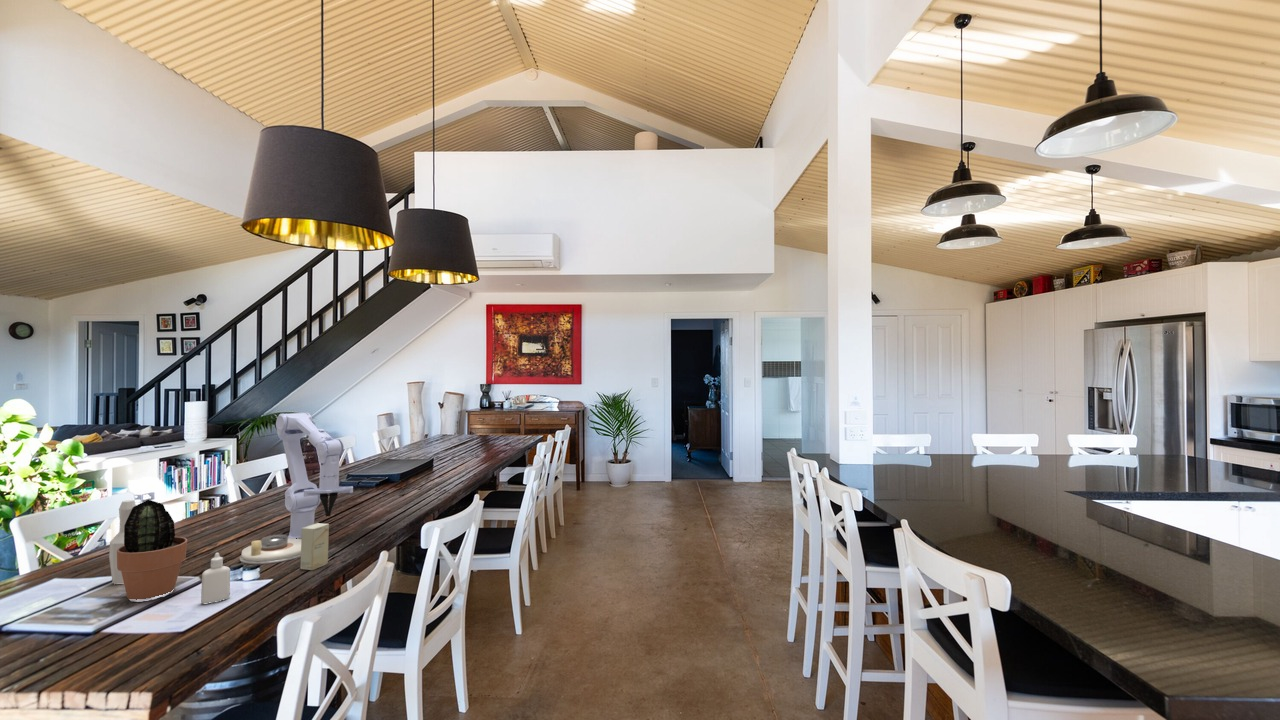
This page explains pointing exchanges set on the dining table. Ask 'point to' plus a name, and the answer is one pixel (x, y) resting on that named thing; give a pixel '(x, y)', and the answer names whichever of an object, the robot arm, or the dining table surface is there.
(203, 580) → the eye dropper bottle
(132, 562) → the potted plant
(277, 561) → the turntable base
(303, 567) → the skincare box
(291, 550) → the disc
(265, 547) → the cover
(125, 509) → the faceted bottle
